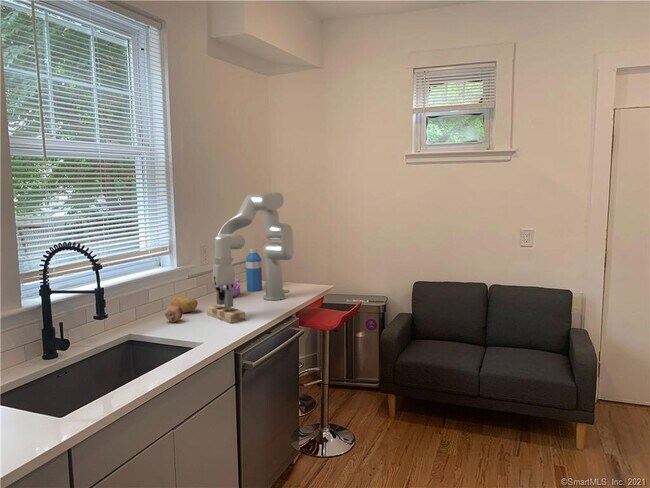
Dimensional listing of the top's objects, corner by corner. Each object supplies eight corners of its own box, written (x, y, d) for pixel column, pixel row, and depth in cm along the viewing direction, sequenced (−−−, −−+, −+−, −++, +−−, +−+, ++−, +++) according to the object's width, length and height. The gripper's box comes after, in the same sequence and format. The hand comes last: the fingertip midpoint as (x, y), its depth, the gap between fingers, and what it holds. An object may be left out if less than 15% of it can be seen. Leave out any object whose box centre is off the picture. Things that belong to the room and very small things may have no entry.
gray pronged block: (216, 304, 240) (216, 287, 239) (222, 303, 242) (221, 286, 241) (227, 307, 233) (227, 290, 232) (233, 306, 235) (232, 289, 234)
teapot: (243, 298, 278) (242, 279, 277) (219, 301, 274) (218, 281, 272) (238, 293, 292) (237, 275, 291) (215, 295, 288) (214, 277, 287)
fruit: (162, 322, 232) (161, 305, 231) (177, 318, 238) (176, 302, 237) (171, 325, 227) (170, 307, 226) (186, 321, 233) (185, 304, 232)
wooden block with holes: (221, 311, 249) (220, 304, 249) (245, 320, 233) (245, 311, 233) (207, 314, 244) (206, 307, 243) (230, 323, 228) (230, 315, 227)
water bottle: (261, 291, 296) (259, 250, 293) (245, 291, 296) (244, 250, 293) (263, 288, 305) (261, 248, 302) (248, 288, 305) (246, 248, 303)
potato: (190, 315, 243) (190, 299, 242) (167, 313, 248) (166, 297, 247) (202, 311, 252) (201, 295, 251) (180, 308, 257) (179, 293, 256)
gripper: (233, 258, 243) (235, 295, 245) (204, 262, 233) (205, 300, 235) (242, 260, 238) (243, 297, 240) (212, 264, 227) (213, 303, 229)
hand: (224, 299), depth 237 cm, fingers closed on gray pronged block, 3 cm apart
